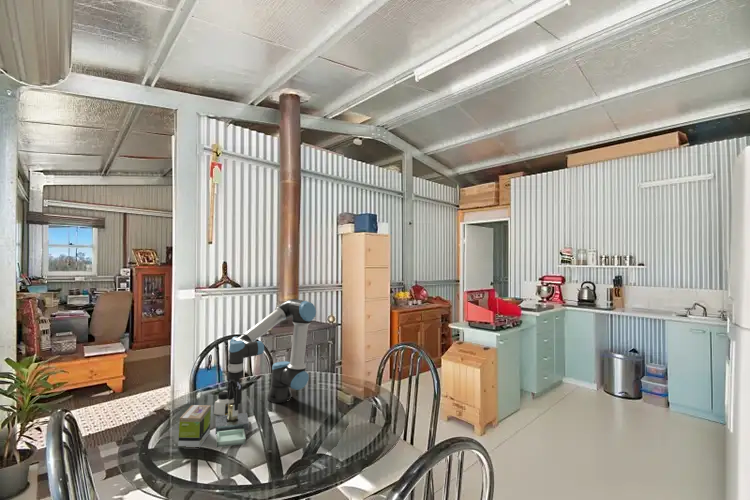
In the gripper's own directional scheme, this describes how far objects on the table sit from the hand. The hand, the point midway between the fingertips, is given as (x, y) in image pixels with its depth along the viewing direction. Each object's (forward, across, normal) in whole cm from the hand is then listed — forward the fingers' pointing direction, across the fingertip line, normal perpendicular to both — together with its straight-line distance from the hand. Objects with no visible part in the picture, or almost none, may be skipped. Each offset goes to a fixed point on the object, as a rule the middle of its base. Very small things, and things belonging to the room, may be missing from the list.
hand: (232, 413), depth 201 cm
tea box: (+7, +3, -20) cm, 22 cm away
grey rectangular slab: (+7, 0, 0) cm, 7 cm away
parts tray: (+7, +13, -6) cm, 16 cm away
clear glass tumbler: (+5, 0, 0) cm, 5 cm away
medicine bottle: (+7, -19, +2) cm, 21 cm away
